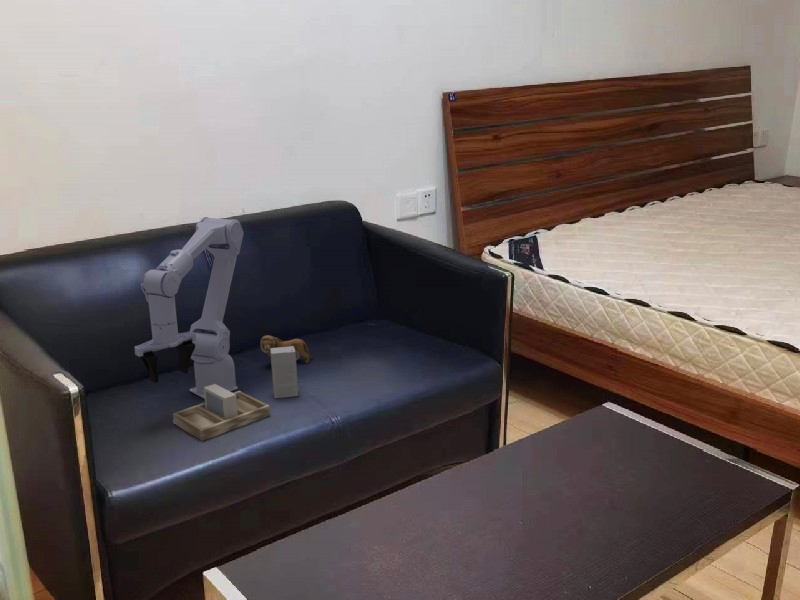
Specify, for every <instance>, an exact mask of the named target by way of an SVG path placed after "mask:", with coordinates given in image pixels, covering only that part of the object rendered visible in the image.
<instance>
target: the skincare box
mask: <svg viewBox="0 0 800 600" xmlns="http://www.w3.org/2000/svg"><path fill="white" fill-rule="evenodd" d="M270 353H271V356H270V363H271V364H270V365H271V375H272V376H271V377H272V378H271V379H272V390H273V391H272V392H273V399H282V398H292V397H293V398H294V397H298V396H299V386H298V370H297V369H298V368H297V360H296V357H297V353H296V351H295V349H294V346H290V347H279V348H270Z"/></svg>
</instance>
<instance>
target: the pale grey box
mask: <svg viewBox="0 0 800 600" xmlns="http://www.w3.org/2000/svg"><path fill="white" fill-rule="evenodd" d="M204 397H205V399H204V403H205V408H206V410H208V411H210V412H211V413H213V414H215V415H217V416H219V417H221V418H222V419H224V420H227V419H230V418H233V417H236V416H238V412H237V398H236V394H234V392H233V391H228V390H226V389H224V388H222V387H220V386H218V385H216V384H213V385H210V386H207V387H204Z"/></svg>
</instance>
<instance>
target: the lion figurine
mask: <svg viewBox="0 0 800 600" xmlns="http://www.w3.org/2000/svg"><path fill="white" fill-rule="evenodd" d="M259 344H260V350H261V351H262V352H263V353H264V354H267V355H268V356H269V357H271V353H270V348H279V347H290V346H294V349H295V352H296V361H298V360H299V359H300V357H301V356H302V357H304V358H305V360H304V361H303V362H304V364H308V363H309V362H310V359H312V358H313V355H311V354H310V352H309V348H308V346H307V343H306V341H304V340H303V339H301V338H294V339H291V340H282V339H281V338H279V337H275V336H273V335H263V336H262V337H261V339H260V343H259Z"/></svg>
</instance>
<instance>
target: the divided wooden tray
mask: <svg viewBox="0 0 800 600" xmlns="http://www.w3.org/2000/svg"><path fill="white" fill-rule="evenodd" d="M233 393H234V394H236V398H237V412H238V416H236V417H233V418H230V419H227V420H224V419H222V418H221V417H219V416H217V415H215V414H213V413H211V412H210V411H208V410H206V408H205V402H201V403H199V404H196V405H194V406H191V407H187V408H185V409H182V410H179V411H177V412H173V413H172V423H173V425H175V424H176V426H178V428H180V429H182V430H184V431H185V432H186V433H189V434H190V435H192V436H193V437H195V438H197V439H199V440H200V441H202V442H204V441H206V440H209V439H212V438H215V437H217V436H219V435H222V434H224V433H225V434H226V433H227V432H230V431H233V430H236V429H238V428H241V427H242V426H243V427H244V426H246V425H249V424H252V423H253V422H257V421H259V420H262V419H265V418H267V417H269V416H271V407H270V404H267V403H266V402H263V401H261V400H259V399H257V398H255V397H253V396H251V395H249V394H246V393H245V392H243V391H241V390H236V391H234V392H233Z"/></svg>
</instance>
